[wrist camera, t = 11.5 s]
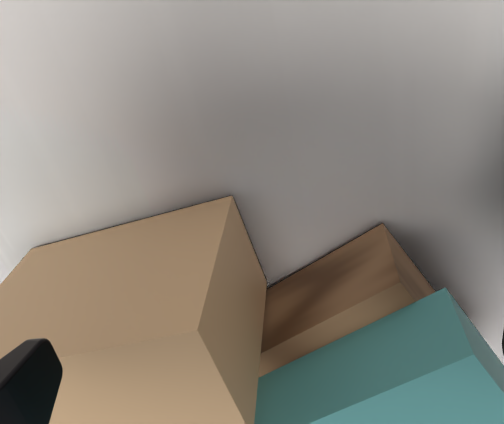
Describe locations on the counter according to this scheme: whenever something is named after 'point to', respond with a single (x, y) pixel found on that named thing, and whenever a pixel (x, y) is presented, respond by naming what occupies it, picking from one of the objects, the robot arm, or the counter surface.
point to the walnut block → (338, 297)
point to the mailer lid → (392, 374)
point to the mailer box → (146, 318)
